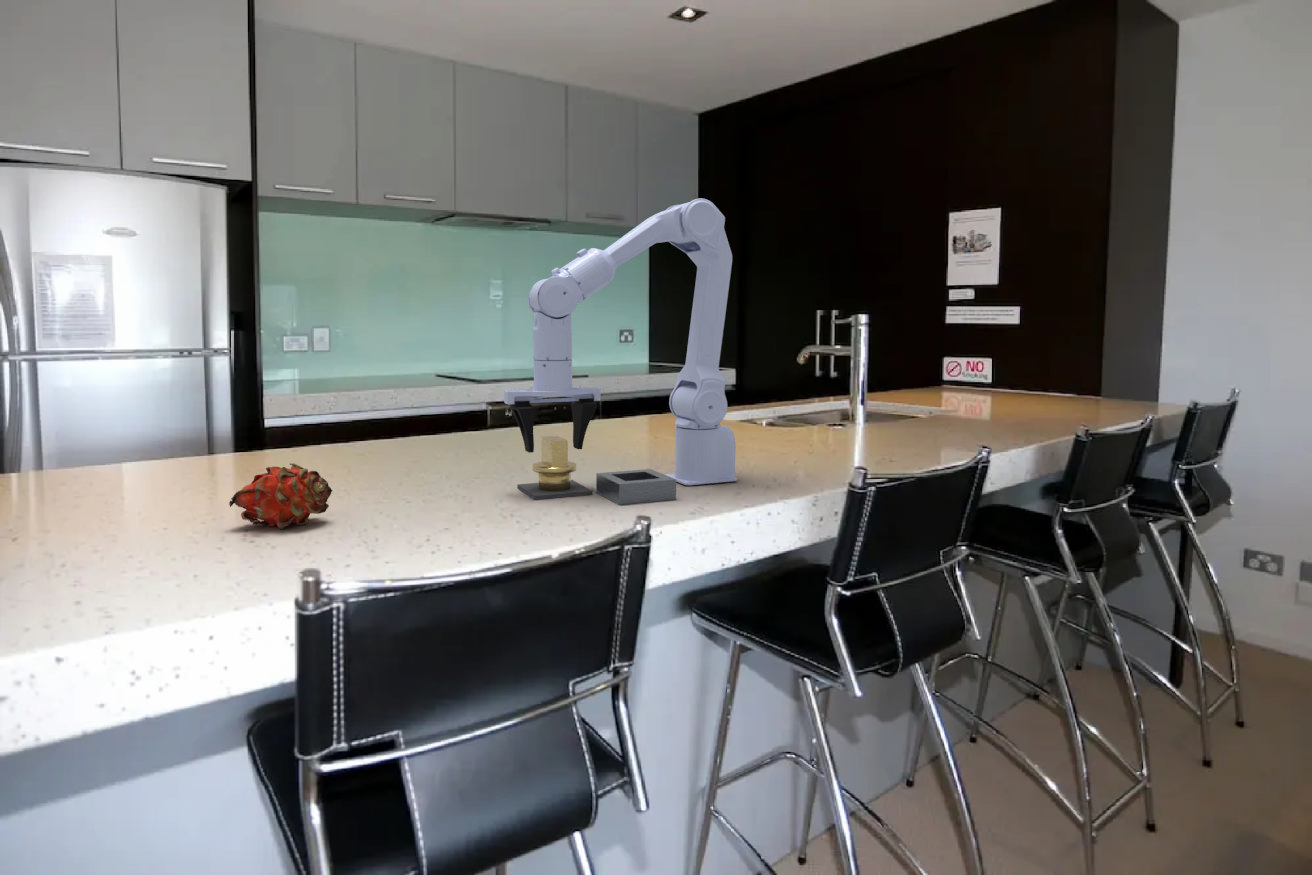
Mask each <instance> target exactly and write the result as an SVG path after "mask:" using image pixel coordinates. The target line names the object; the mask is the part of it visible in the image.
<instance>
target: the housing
mask: <svg viewBox="0 0 1312 875" xmlns="http://www.w3.org/2000/svg"><path fill="white" fill-rule="evenodd" d="M595 476H596V480H595V481H596V482H595V483H596V484H595V485H596V486H595V487H596V488H595V489H596V490H595V491H596V494H598V495H600V496H602V497H603V498H604V499H605V498H606V500H607V499H608V500H609V501H611V502H612V503H615V504H616V505H619V506H622V505H623V506H625V505H634V504H646V503H654V502H665V501H675V500H677V482H676V479H674V478H671V477H669V476H666V474H664V473H662V472H659V471H656V470H653V469H652V468H646V469H637V470H635V469H633V470H623V471H622V470H621V471H609V472H608V471H607V472H598V473H596V475H595Z"/></svg>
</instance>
